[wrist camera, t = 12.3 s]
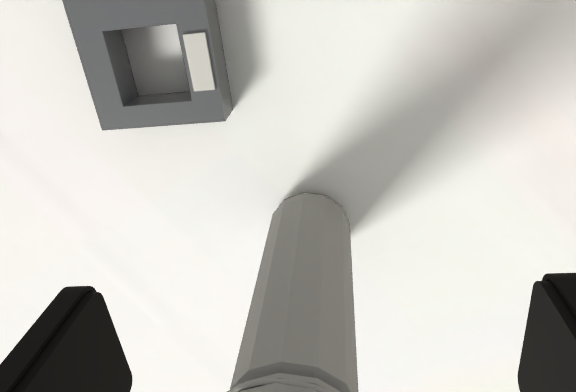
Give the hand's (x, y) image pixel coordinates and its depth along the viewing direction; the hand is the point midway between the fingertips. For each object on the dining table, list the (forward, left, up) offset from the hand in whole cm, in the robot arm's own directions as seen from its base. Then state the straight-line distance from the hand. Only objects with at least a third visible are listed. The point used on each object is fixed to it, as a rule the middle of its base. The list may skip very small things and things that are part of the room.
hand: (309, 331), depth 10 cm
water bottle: (+3, +15, -28) cm, 32 cm away
